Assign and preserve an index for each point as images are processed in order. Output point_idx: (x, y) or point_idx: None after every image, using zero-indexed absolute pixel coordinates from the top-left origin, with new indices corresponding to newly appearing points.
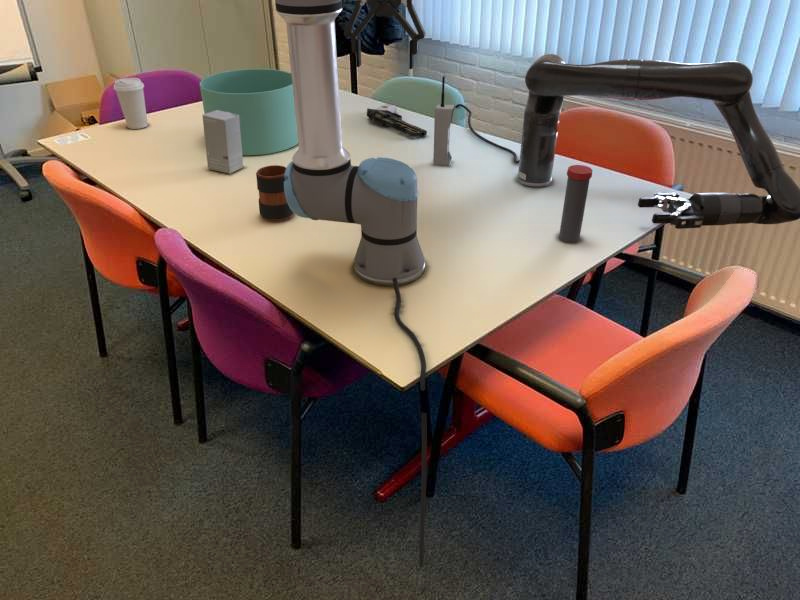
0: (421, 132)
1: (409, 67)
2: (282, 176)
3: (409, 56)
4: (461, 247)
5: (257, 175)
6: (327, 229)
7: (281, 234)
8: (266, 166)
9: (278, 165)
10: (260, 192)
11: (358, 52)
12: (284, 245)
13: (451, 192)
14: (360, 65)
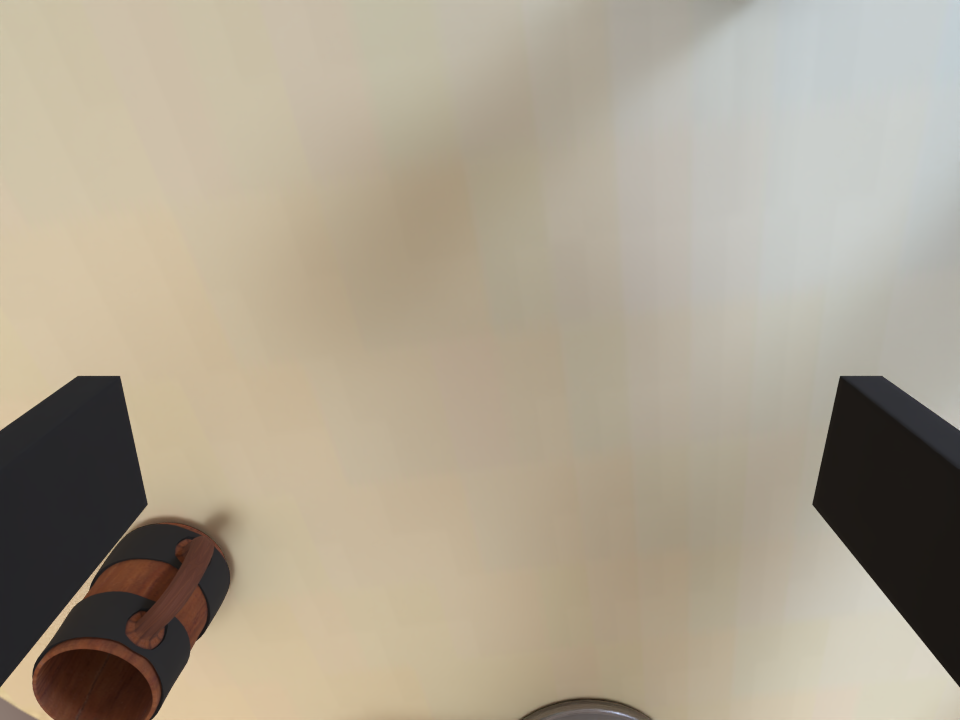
0: None
1: (825, 513)
2: (155, 710)
3: (907, 619)
4: (771, 658)
5: (55, 709)
6: (368, 617)
7: (246, 657)
8: (45, 661)
9: (87, 647)
10: (101, 667)
11: (30, 643)
12: (282, 704)
13: (773, 297)
14: (129, 426)
